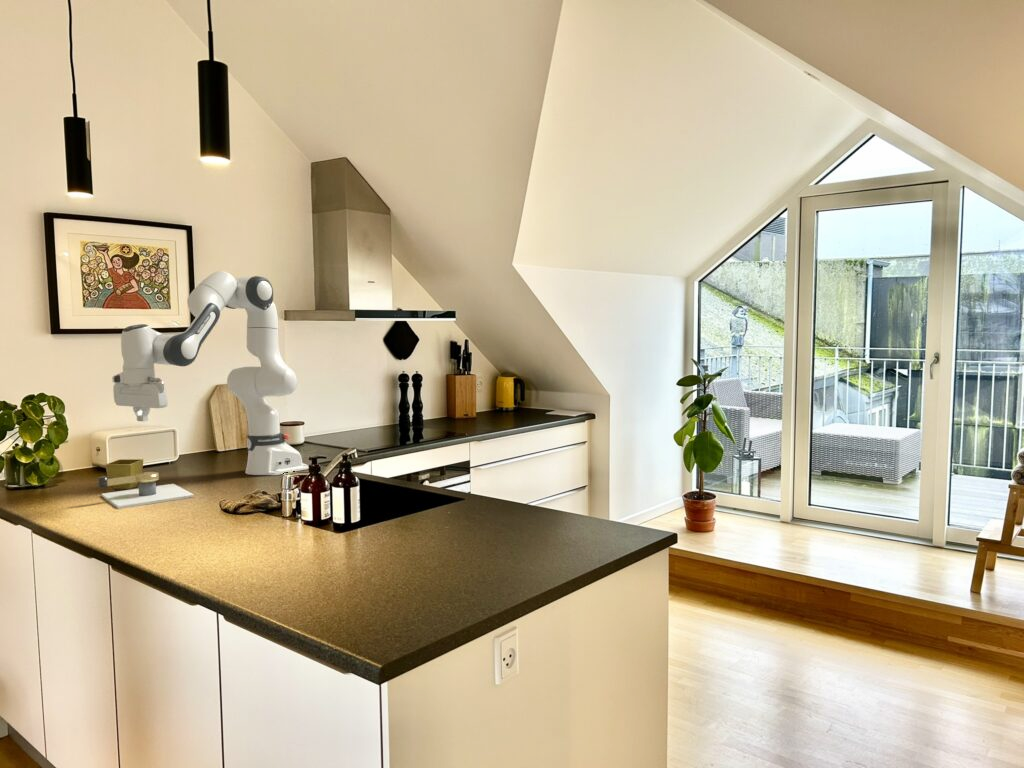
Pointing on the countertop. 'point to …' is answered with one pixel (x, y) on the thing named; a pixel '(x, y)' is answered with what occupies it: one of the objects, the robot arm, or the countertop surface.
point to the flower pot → (124, 471)
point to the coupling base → (146, 495)
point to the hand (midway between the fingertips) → (142, 421)
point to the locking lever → (129, 479)
